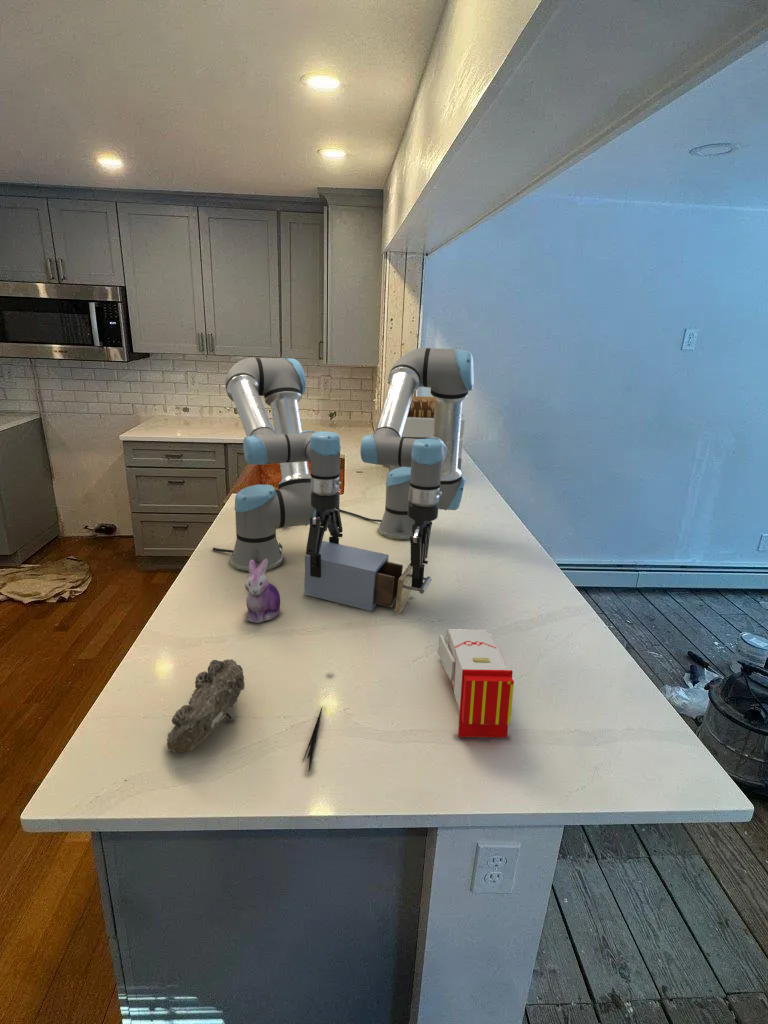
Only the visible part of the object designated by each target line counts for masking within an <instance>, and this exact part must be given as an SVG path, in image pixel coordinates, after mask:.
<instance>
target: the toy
mask: <svg viewBox="0 0 768 1024" xmlns="http://www.w3.org/2000/svg"><path fill="white" fill-rule="evenodd" d="M446 640H447V643H446V641H445V639H444V636H443V635H442V634H439V637H438V646H437V656H438V657H439V659H440V661H441V663H442V666H443V668H444V670H445V672H446V674H447V677H448V679H449V681H450V684H451V687H452V690H453V693H454V697H455V701H456V705H457V708H458V711H459V714H458V715H459V716H458V730H457V731H458V732H457V737H458V738H508V731H509V726H510V725H511V717H512V707H513V697H514V696H513V695H514V684H515V680H514V679H513V673H514V671H513V670H512V669H508V667H507V665H506V662H505V661H504V659H503V658H502V655H501V653H500V651H499V649H498V647H497V643H496V639H495V637H494V635H493V634H491V632H490V631H489V629H467V628H466V629H465V628H463V629H461V628H460V629H459V628H448V630H447V639H446Z"/></svg>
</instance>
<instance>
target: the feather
mask: <svg viewBox="0 0 768 1024" xmlns="http://www.w3.org/2000/svg"><path fill="white" fill-rule="evenodd" d="M329 675H330V676H331V675H332V674H331V673H330V674H329ZM322 710H323V707H321V708H320V710H319V713H318V716H317V719H316V723H315V725H314V728H313V731H312V733H311V737H310V739H309V742H308V745H307V748H306V751H305V754H304V757H303V760H302V763H301V767H302V765H303V763H304V761H305V758H308V759H309V760H308V762H307V763H308V764H307V766H308V771H310V770H311V766H312V765H311V764H312V760H313V757H315V756H314V755H315V751H316V749H315V746H317V739H318V733H319V729H320V722H321V717H322V712H323V711H322ZM313 754H314V755H313ZM306 755H307V757H306Z"/></svg>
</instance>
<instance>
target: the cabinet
mask: <svg viewBox="0 0 768 1024" xmlns="http://www.w3.org/2000/svg"><path fill="white" fill-rule="evenodd" d="M319 554H321V577H320V578H318V577H313V576H310V555H306V554H305V555H304V581H303V582H304V583H303V595H306V596H309V597H313V598H318V599H321V600H325V601H329V602H333V603H337V604H341V605H346V606H350V607H355V608H358V609H362V610H366V611H374V608H375V607H376V606H377V604H374V603H373V602H374V589H375V576H376V572H377V571H378V570H379V569H380V568H381V566H382V565H383V564H384V563H385V562H386V561H387V562H389V557H390V556H389V554H387V553H383V552H378V551H373V550H368V549H363V548H359V547H354V546H349V545H346V544H341V543H339V544H336V543H331V542H329V541H326V540H322V544H321V548H320V552H319Z"/></svg>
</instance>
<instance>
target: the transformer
mask: <svg viewBox="0 0 768 1024" xmlns="http://www.w3.org/2000/svg"><path fill="white" fill-rule="evenodd" d="M434 410H435V398H434V397H433V396H415V395H413V397H412V401H411V405H410V409H409V412H408V416H407V420H406V423H405V427H404V431H403V434H402V438H412V439H427V438H430V437H433V429H434ZM464 429H465V419H464V418H463V413H462V414H461V427H460V440H459V453H458V466H457V468H458V469H459V470H460V471H461V472H462V461H463V460H462V453H463V442H464V441H463V440H462V439H463V438H464V431H465V430H464ZM383 466H384V467H388V468H389V472H390V471H391V470H393V469H396V468H400V467H402V466H389V465H383Z"/></svg>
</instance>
